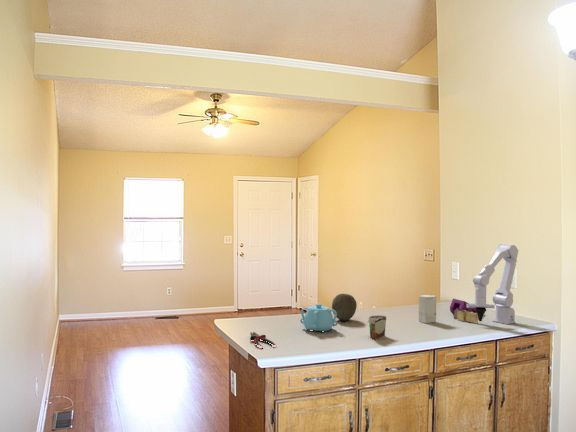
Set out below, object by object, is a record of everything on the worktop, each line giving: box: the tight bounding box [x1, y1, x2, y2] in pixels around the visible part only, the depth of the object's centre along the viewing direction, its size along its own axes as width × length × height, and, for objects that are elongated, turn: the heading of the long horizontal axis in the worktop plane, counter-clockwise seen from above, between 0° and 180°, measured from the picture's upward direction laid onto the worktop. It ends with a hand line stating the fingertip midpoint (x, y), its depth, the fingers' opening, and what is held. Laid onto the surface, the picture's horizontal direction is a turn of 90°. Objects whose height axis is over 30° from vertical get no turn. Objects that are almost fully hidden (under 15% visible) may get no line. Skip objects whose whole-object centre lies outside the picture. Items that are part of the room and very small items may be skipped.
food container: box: [367, 315, 387, 341], centre depth 241 cm, size 12×6×10 cm, turn 141°
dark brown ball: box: [331, 293, 357, 322], centre depth 277 cm, size 14×14×15 cm
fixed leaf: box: [453, 310, 467, 322], centre depth 280 cm, size 7×2×6 cm, turn 35°
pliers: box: [249, 331, 276, 346], centre depth 230 cm, size 3×9×22 cm
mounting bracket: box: [449, 298, 477, 315], centre depth 295 cm, size 9×8×18 cm
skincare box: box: [418, 294, 437, 324], centre depth 275 cm, size 8×6×15 cm
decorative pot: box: [299, 303, 338, 332], centre depth 255 cm, size 16×16×14 cm
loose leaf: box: [456, 311, 479, 324], centre depth 276 cm, size 11×5×5 cm, turn 35°
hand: (480, 320), depth 270 cm, fingers closed
